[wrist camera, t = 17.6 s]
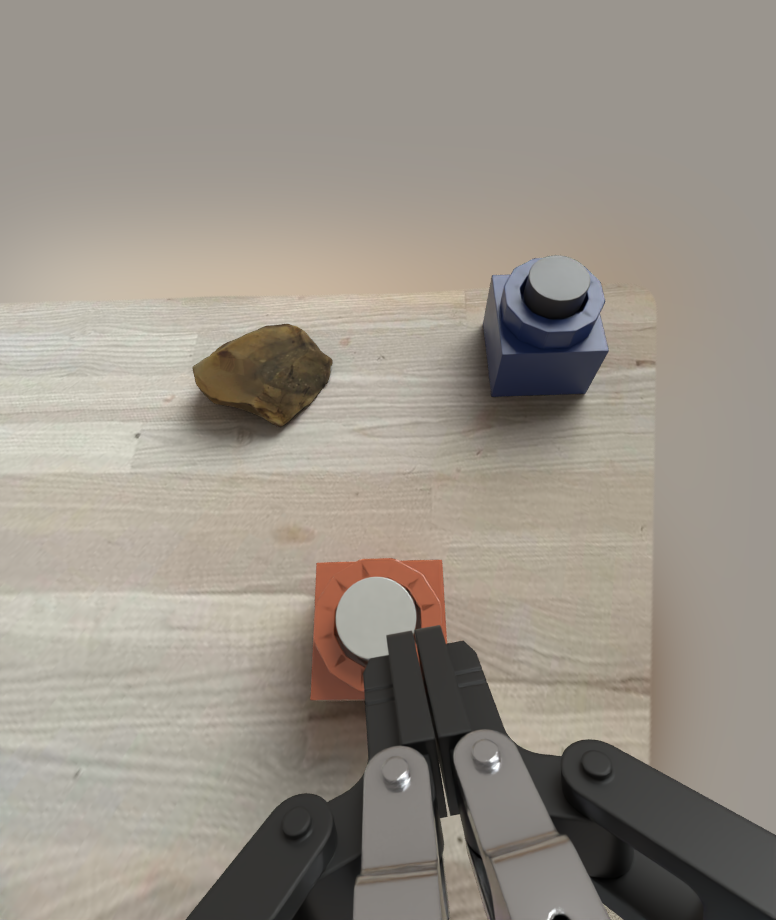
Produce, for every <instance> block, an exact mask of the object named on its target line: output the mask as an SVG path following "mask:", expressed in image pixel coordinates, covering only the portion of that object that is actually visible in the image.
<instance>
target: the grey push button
mask: <svg viewBox="0 0 776 920" xmlns="http://www.w3.org/2000/svg"><path fill="white" fill-rule="evenodd" d="M589 286H590V276H589V273H588V271H587V269H586V268H585V267H584V266H583V265H582V264H581V263H580V262H578V261H576V260H575V259H572V258H569V257H566V256H557V255H555V256H548V257H544V258H542V259H540V260H538V261H537V262H535V263H534V264H533V266H532V267H531V269H530V271H529V274H528V278H527V282H526V286H525V289H524V301H525V303H526V305H527V307H528V308H529V309H530V310H531V311H532V312H533V313H535V314H537V315H539V316H542V317H545V318H547V319H551V320H556V319H565V318H568V317H571V316H572V315H574V314H575V313H576V312H577V311H578V310H579V309H580V307H581V305H582V303H583V300H584V298H585V296H586V293H587V291H588V288H589Z"/></svg>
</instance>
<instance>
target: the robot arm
mask: <svg viewBox="0 0 776 920" xmlns="http://www.w3.org/2000/svg"><path fill="white" fill-rule="evenodd" d="M414 632H415V639H416V645H417V651H418V656H417V651H416V646H415V642H414V637H413V632H412V630H410V631H405V632H400V633H394V634H389V635H386V639H387V646H388V653H389V655H385V656H380V657H374V658H370V659H369V661H368V664H367V666H366V668H365V670H364V673H363V681H364V692H365V693H364V696H365V711H366V726H367V741H368V764H367V767H366V769H365V772H364V774H363V776H362V777H361V779H360V780H359V781H358V782H357V783H356V784H355V786H353V787H352V788H351V789H350V790H348V791H347V792H345V793H343V794H342V795H340V796H338V797H336V798H334V799H332V800H331V801H329V802H326V801H325V800H324V799H323V798H321V797H320V796H318V795H315V794H307V793H305V794H298V795H295V796H292V797H290V798H288V799H287V800H285V801H283V802H282V803H281V804H280V805H278V806H277V807H276V808H275V810H274V811H273V812H272V813H271V814H270V816H269V817H268V818H267V819H266V820H265V822H264V823H263V824H262V825H261V827H260V828H259V829H258V830H257V832H256V833H255V834H254V835H253V837H252V838H251V839H250V840H249V842H248V843H247V844H246V845H245V847H244V848H243V849H242V850H241V852H240V853H239V854H238V855H237V856H236V858H235V859H234V860H233V861H232V863H231V864H230V865H229V866H228V868H227V869H226V870H225V871H224V873H223V874H222V875H221V876H220V878H219V879H218V880H217V881H216V883H215V884H214V885H213V886H212V888H211V889H210V890H209V891H208V893H207V894H206V895H205V896H204V897H203V899H202V900H201V901H200V902H199V904H198V905H197V906H196V907H195V909H194V910H193V911H192V912H191V914H190V915H189V916H188V917H187V919H186V920H450V912H449V903H448V894H447V885H446V876H445V867H444V858H443V850H444V840H443V833H442V827H441V821H440V818H444V817H448V816H447V810H446V804H445V797H444V791H443V785H442V778H443V783H444V788H445V792H446V797H447V802H448V807H449V811H450V816H452V815H457V814H460V817H461V821H462V825H463V830H464V835H465V842H466V848H467V853H468V857H469V860H470V863H471V866H472V870H473V873H474V876H475V880H476V883H477V886H478V890H479V893H480V896H481V899H482V903H483V906H484V909H485V913H486V916H487V919H488V920H610V918H609V916H608V914H607V912H606V909H605V907H604V905H606V906H607V907H608V908H609V909H611V910H612V911H613V912H615V913H616V914H617V915H618V916H620V917H621V918H622V919H624V920H776V835H775V834H772V833H771V832H769V831H767V830H765V829H764V828H762V827H760V826H758V825H756V824H754V823H752V822H751V821H749V820H747V819H745V818H744V817H742V816H740V815H738V814H736V813H734V812H733V811H731V810H729V809H727V808H725V807H723V806H722V805H720V804H718V803H716V802H714V801H713V800H710V799H709V798H707V797H705V796H703V795H702V794H700V793H698V792H696V791H694V790H692V789H691V788H689V787H687V786H685V785H683V784H682V783H680V782H678V781H676V780H674V779H672V778H671V777H669V776H667V775H665V774H663V773H661V772H660V771H658V770H656V769H654V768H652V767H651V766H649V765H647V764H645V763H643V762H641V761H640V760H638V759H636V758H634V757H632V756H631V755H629V754H627V753H625V752H623V751H621V750H620V749H618V748H616V747H614V746H612V745H610V744H608V743H605V742H602V741H598V740H589V739H588V740H581V741H577V742H575V743H572V744H571V745H570V746H568V747H567V748H566V749H565V751H564V752H563V754H562V756H554V755H545V754H538V753H534V752H531V751H528V750H526V749H523V748H522V747H520V746H518V745H517V744H516V743H515V742H513V741H512V739H511V738H510V737H509V736H508V734H507V733H506V731H505V729H504V727H503V724H502V721H501V718H500V716H499V713H498V710H497V708H496V705H495V702H494V700H493V697H492V694H491V692H490V689H489V686H488V683H487V682H486V678H485V675H484V673H483V670H482V667H481V665H480V662H479V659H478V657H477V654H476V652H475V651H474V650H473V649H472V648H471V647H470V646H469V645H467V644H466V643H465V642H464V641H459V642H454V643H448V644H446V642H445V638H444V635H443V632H442V628H441V626H440V625H437V626H431V627H426V628H421V629H415V630H414ZM418 658H419V660H418ZM419 664H420V665H419ZM439 764H440V766H439ZM440 769H441V772H440ZM441 773H442V778H441ZM603 904H604V905H603Z"/></svg>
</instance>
